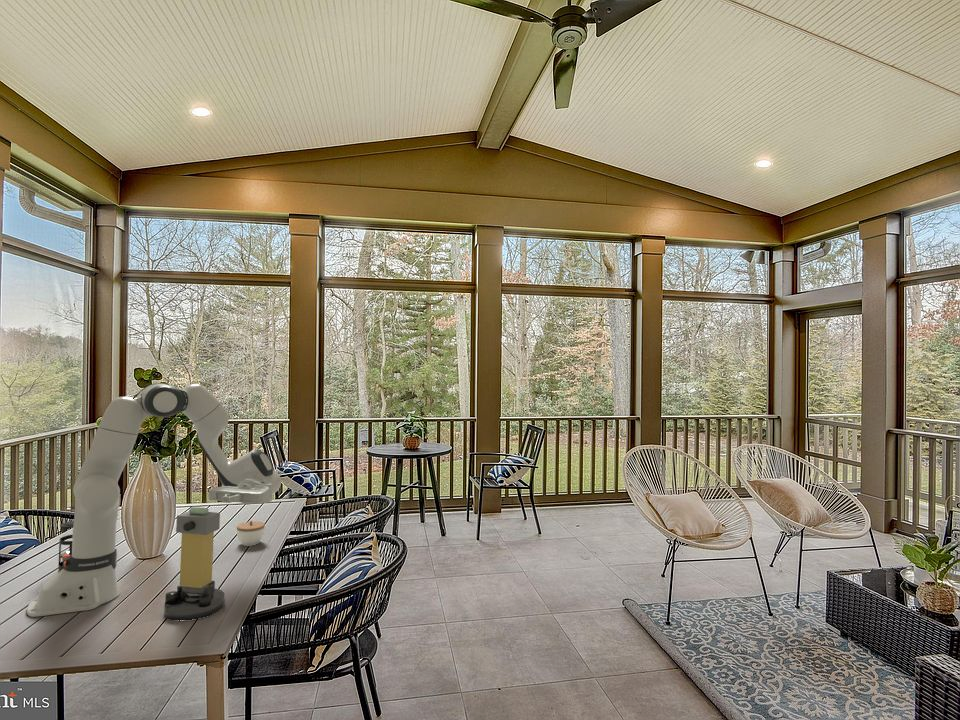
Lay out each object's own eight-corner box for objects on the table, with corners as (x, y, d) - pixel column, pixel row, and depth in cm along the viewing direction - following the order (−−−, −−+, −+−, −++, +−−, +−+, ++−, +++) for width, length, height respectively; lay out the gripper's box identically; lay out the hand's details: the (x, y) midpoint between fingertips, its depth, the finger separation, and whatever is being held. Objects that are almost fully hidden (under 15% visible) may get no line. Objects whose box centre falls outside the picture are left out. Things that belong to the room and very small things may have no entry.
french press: (87, 574, 182) (90, 508, 183) (53, 578, 178) (56, 510, 179) (94, 563, 193) (96, 500, 193) (62, 566, 189) (65, 502, 189)
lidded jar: (230, 545, 216) (231, 522, 216) (252, 538, 226) (253, 516, 226) (248, 549, 211) (248, 526, 211) (269, 542, 221) (270, 520, 221)
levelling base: (201, 623, 150) (202, 599, 150) (151, 618, 152) (152, 594, 152) (235, 599, 166) (235, 577, 166) (189, 595, 168) (190, 573, 168)
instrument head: (199, 602, 153) (202, 512, 154) (168, 599, 155) (172, 510, 156) (216, 591, 161) (220, 506, 162) (187, 588, 163) (190, 504, 164)
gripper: (223, 480, 188) (197, 488, 174) (276, 483, 185) (253, 492, 171) (222, 498, 188) (196, 507, 174) (275, 501, 185) (253, 512, 171)
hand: (225, 500), depth 173 cm, fingers closed
